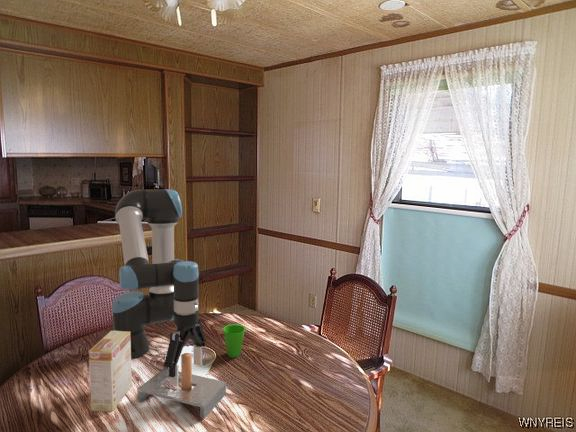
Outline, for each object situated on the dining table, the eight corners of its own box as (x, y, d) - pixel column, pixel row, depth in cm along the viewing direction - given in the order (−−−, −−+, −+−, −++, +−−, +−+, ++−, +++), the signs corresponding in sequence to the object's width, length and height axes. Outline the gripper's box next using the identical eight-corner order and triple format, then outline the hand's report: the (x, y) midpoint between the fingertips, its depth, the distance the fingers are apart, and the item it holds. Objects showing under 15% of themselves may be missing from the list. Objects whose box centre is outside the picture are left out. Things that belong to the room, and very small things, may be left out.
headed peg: (175, 401, 130) (174, 357, 128) (184, 393, 135) (184, 350, 133) (189, 405, 128) (188, 360, 126) (197, 396, 133) (197, 353, 131)
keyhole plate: (137, 401, 129) (137, 388, 128) (164, 379, 142) (164, 368, 142) (203, 419, 121) (203, 405, 121) (225, 394, 134) (225, 382, 134)
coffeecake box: (112, 384, 138) (110, 330, 136) (132, 385, 138) (131, 330, 136) (89, 411, 124) (87, 350, 121) (112, 412, 123) (110, 351, 121)
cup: (247, 350, 166) (247, 324, 165) (242, 361, 157) (243, 334, 156) (225, 348, 167) (226, 323, 166) (219, 359, 158) (220, 332, 157)
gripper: (172, 327, 114) (173, 397, 117) (216, 300, 138) (215, 359, 141) (150, 323, 117) (151, 392, 120) (197, 297, 140) (197, 355, 143)
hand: (186, 374), depth 130 cm, fingers open, 13 cm apart
